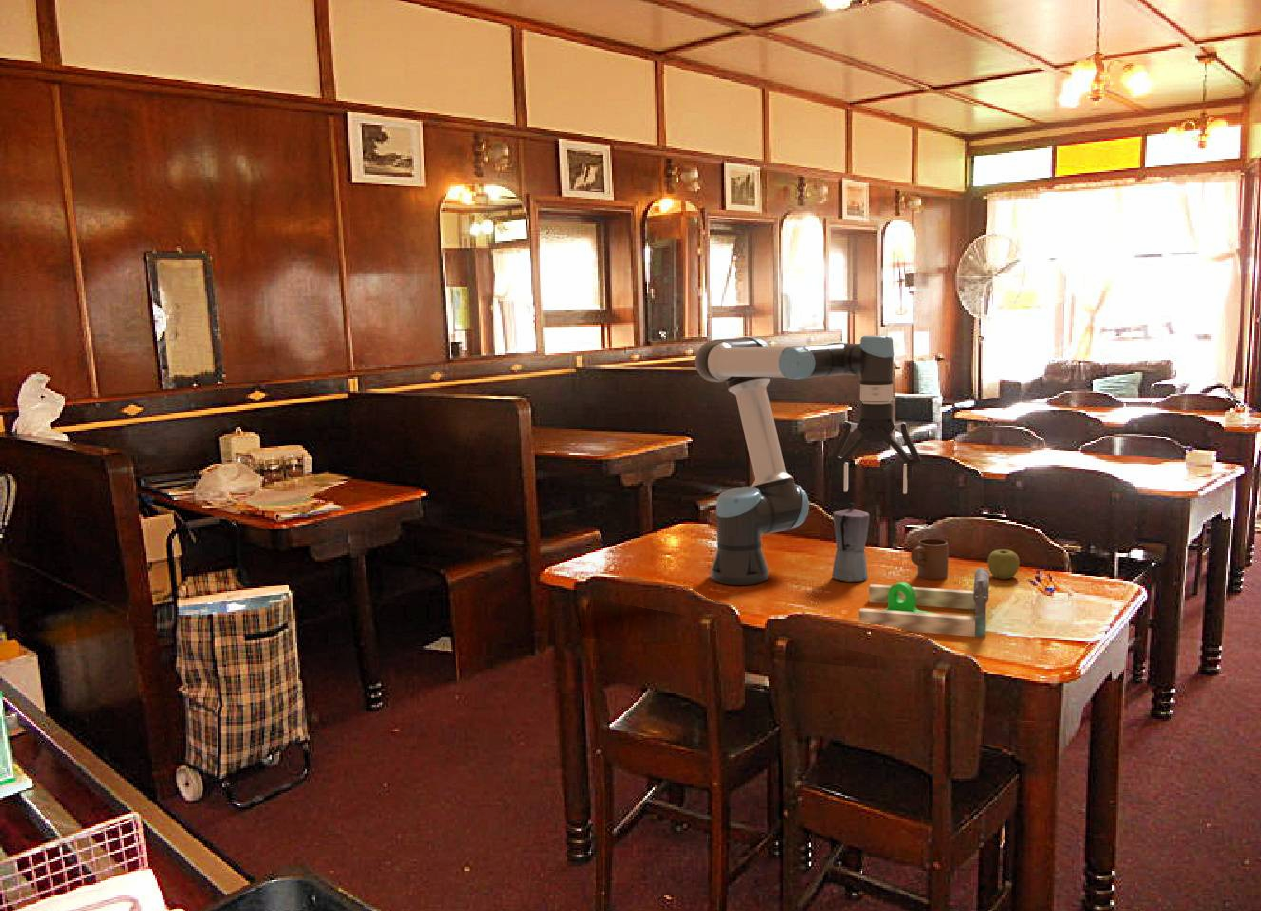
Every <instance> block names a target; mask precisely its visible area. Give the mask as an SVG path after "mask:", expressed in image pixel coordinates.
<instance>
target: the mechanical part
mask: <svg viewBox="0 0 1261 911" xmlns="http://www.w3.org/2000/svg"><path fill="white" fill-rule="evenodd" d="M912 587H913V586H912V585H911V584H910V583H909V582H906V581H905V582H904V581H899V582H896V583H895V584H892V587H891V588H890V589H889V593H888V603H887V604H888V605H887V607H886V608H885V609H884V610H891V611H903V612H916V613H929V614H937V613H934V612H931V611H925V610H920V609H918V608H917V607H916V605H915V592H914V589H913V588H912ZM898 591H901V592H903V593H904V594H905V597H906V599H905V601H903V600H901V599H900V598H899V596H898Z"/></svg>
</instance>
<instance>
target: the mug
mask: <svg viewBox="0 0 1261 911" xmlns="http://www.w3.org/2000/svg"><path fill="white" fill-rule="evenodd" d="M949 551H950V550H949V542H948V540H946V539H941V538H923V539H920V540H918V541H917V546H915V547H914V548H913V549H912V551H911V554H910V557H911V558H910V559H911V561H912V564H913V565H915V566H917V575H918V577H919V579H923V580H928V581H941V580H945V579H947V578H948V576H949Z"/></svg>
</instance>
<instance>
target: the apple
mask: <svg viewBox="0 0 1261 911" xmlns="http://www.w3.org/2000/svg"><path fill="white" fill-rule="evenodd" d="M986 564H987V568H988V572H990V574H991V575H992V576H993V577H995V578H996V579H999V580H1000V579H1001V580H1008V579H1011V578H1013V577H1015V576H1016V574H1017V573H1018V571H1019V568H1020V564H1021V563H1020V557H1019V556H1018V554H1017V553H1016V552H1015V551H1013V550H1010V549H1005V548H1004V549H996V550H993V551H991V552H990V554H989V555H988V557H987V563H986Z"/></svg>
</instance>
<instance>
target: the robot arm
mask: <svg viewBox="0 0 1261 911" xmlns="http://www.w3.org/2000/svg"><path fill="white" fill-rule="evenodd" d="M894 350H895V349H894V339H893V337H892V336H891V335H887V334H884V335H883V334H880V335H878V334H877V335H876V334H875V335H862V336H861V337H860V340H859V343H847V342H845V343H844V342H833V343H832V342H831V343H828V344H819V345H796V346H795V345H794V346H793V345H792V346H791V345H790V346H782V345H781V346H770V345H769V344H768V343H767V342H766V341H764V340H763V339H761V338H758V337H749V336H744V337H736V338H723V339H717V338H716V339H712V340H709V341H707V342H705V343H703V344H701V346H700V347H699V348H698V349H697V351H696V353H695V357H694V367H695V368H696V369H695V370H696V371H697V374H699V376H700V377H702V379H704V380H706V381H708V382H713V383H726V384H727V389H728V392H729V393H731V394H733V395H734V396H735V398H736V403H737V406H738V412H739V416H740V420H741V421H740V422H741V425H742V429H743V433H744V437H745V442H746V445H747V450H748V453H749V458H750V459H749V460H750V462H751V463H750V464H751V467H752V472H753V476H754V481H753V482H752V485H751V486H742V487H733V488H729V489H726V490H724V491H722V492H721V493H719V495H717V498H716V502H715V503H716V507H715V516H716V517H715V518H716V546H717V547H716V552H715V555H714V560H713V563H712V566H711V570H710V574H711V575H710V576H711V580H713V581H714V582H717V583H719V584H724V585H731V586H739V585H740V586H747V585H756V584H760V583H764V582H765V581H767V580H768V579H769V572H770V571H769V567H768V566H769V565H768V563H767V561H766V558H765V555H764V552H763V549H762V536H763V535H769V534H774V533H778V532H787V531H790V530H792V529H796V528H798V527H800V526H801V525H802V524H803V523H804V522H805V520H806V517H807V516H808V514H809V507H810V506H809V505H810V504H809V498H808V495H807V493H806V491H805V490H803V487H801V485H797V484H796V483H795V479H794V477H793V476H792V475H791V474H790V473H788V472H787V470H786V466H785V462H784V458H783V454H782V449H781V445H780V440H779V436H778V432H777V428H776V424H775V420H774V416H773V412H772V407H771V402H770V398H769V394H768V390H767V387H768V385H769V384H770V382H771V379H770V378H782V379H783V378H786V379H788V380H804V379H812V378H823V377H837V376H858V377H859V400H860V401H861V403H860V404H859V421H858V423H856V422H855V423H854V422H852V421H847V423H846V424H845V429H844V433H843V435H842V436H841V439H840V440H839V443H838V444H837V447H836V449H835V450H834V451H833V454H832V456H831V461H833V462H836V463H838V467H839V468H838V475H839V478H843V492H848V490H849V462H847V460H848V459H849V458H850V456H852V455H853V454H854V453H855V451H856V450H857V449H858V448H859V447H860V445H861V444H862V443H863V442H864V441H866V442H868V443H874V442H877V443H883V442H885V441H886V442H887V443H888V445H889V446H891V447H892V449H893V450H894V452H895V453H897V455H898V456H899V457H900V458H901V459H902V460H903V461H904V462H905V463H904V464H903V470H902V471H903V472H902V473H903V476H902V478H903V479H902V481H903V483H902V484H903V485H902V487H903V489H902V493H903V494H904V495H905V494H907V493H908V480H912V478H913V466H914V465H916V464H920V462H921V461H922V460H921V456H920V454H919V452H918V451H917V450H918V449H916V446H915V444H914V443H913V441H912V439H911V436H910V434H909V432H908V427H907V423H906V422H905V421H903V422H901V423H894V420H893V417H894V416H893V415H894V410H893V409H894V403H892V401H893V400H894V363H895V362H894V360H895V351H894ZM856 429H857V430H858V432H859V433H860V436H859V437H858V438H857V440H855V442H854V443H853V444H852V445H851V446H850V448H848V450H847V451H846V452H845V453H844V454H843V455H842V456H840V454H841V453H842V450H843V448H844V446H845V444H846V442H847V441H848V439H849V437H850V434H851V433H853V432H855V430H856ZM894 430H896V431H897V432H898V433H899V434H901V436H902V438H903V441H904V443H905V444H906V446H907V448H908V451H909V453H910V454H911V456H912V457H911V456H910V455H908V453H907V452H906V450H904V449H903V448H902V447H901V445H900V444H899V442H897V441H896V439H895V438H894V437H893V436H892V433H893V431H894Z"/></svg>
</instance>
